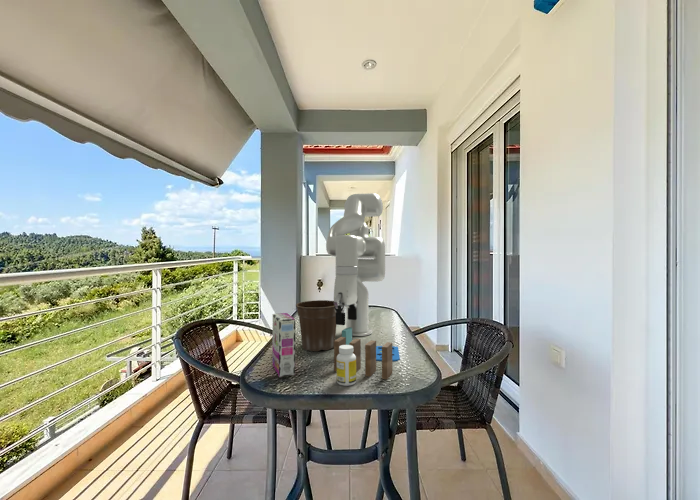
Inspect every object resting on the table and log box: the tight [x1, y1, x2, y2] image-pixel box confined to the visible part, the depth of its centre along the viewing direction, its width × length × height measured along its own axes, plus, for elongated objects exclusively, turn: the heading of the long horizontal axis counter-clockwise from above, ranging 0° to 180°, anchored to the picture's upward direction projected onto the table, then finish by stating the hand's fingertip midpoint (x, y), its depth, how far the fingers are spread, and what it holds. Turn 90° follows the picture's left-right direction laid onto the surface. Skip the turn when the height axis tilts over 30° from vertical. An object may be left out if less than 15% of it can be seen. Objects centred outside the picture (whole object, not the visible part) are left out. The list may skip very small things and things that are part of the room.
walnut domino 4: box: [381, 341, 393, 380], centre depth 97 cm, size 2×5×9 cm, turn 156°
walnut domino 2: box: [349, 338, 362, 373], centre depth 101 cm, size 2×5×9 cm, turn 156°
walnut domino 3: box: [364, 340, 377, 378], centre depth 99 cm, size 2×5×9 cm, turn 156°
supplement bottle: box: [336, 345, 357, 387], centre depth 93 cm, size 5×5×10 cm
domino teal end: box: [341, 327, 353, 345], centre depth 115 cm, size 2×5×9 cm, turn 157°
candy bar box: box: [271, 312, 296, 378], centre depth 102 cm, size 11×5×16 cm, turn 23°
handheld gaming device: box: [376, 345, 401, 362], centre depth 117 cm, size 8×1×15 cm
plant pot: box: [295, 299, 337, 352], centre depth 125 cm, size 16×16×16 cm
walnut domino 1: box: [333, 336, 346, 372], centre depth 103 cm, size 2×5×9 cm, turn 157°
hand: (346, 322), depth 115 cm, fingers open, 9 cm apart
